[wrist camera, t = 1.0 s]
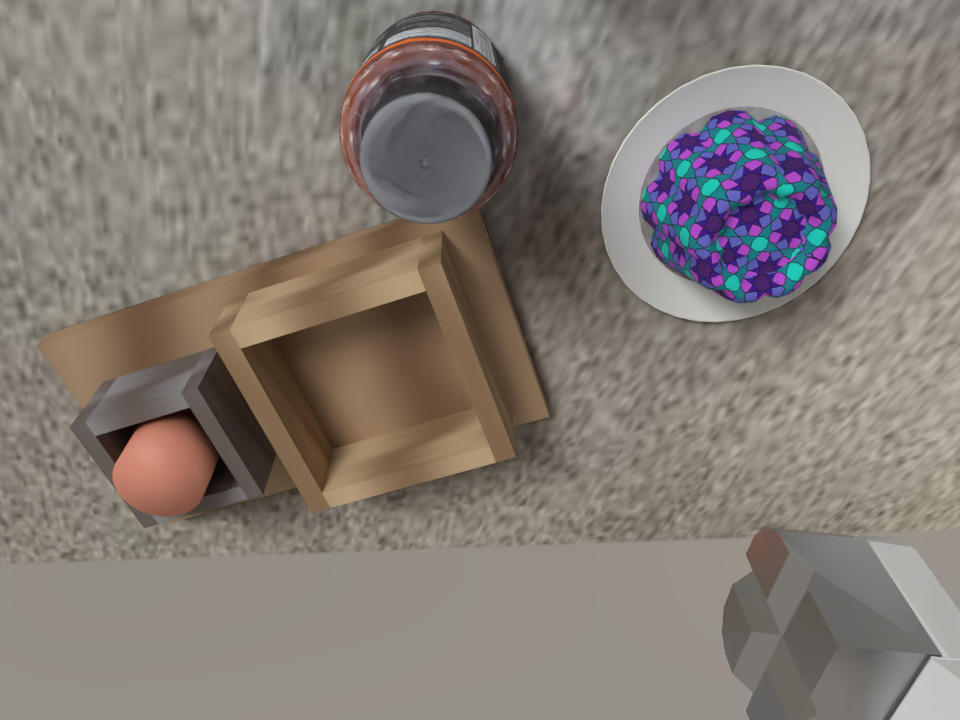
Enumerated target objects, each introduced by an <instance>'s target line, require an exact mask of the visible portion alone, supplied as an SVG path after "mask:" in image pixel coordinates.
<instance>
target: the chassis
mask: <svg viewBox="0 0 960 720" xmlns="http://www.w3.org/2000/svg"><path fill="white" fill-rule="evenodd" d="M38 347H39V349H40V350H41V351H42V353H43V354H44V355H45V357H46V358H47V360H48V361H49V362H50V364H51V365H52V367H53V368H54V369H55V371H56V372H57V374H58V375H59V376H60V378H61V379H62V381H63V382H64V383H65V385H66V386H67V388H68V389H69V390H70V392H71V393H72V394H73V396H74V397H75V399H76V400H77V401H78V403H79V404H80V406H81V407H82V408H83V410H82V411H81V413H80V414H79V415H78V417H77V418H76V420H75V421H74V422H73V424H72V425H71V426H70V428H71V430H72V431H73V432H74V434H75V435H76V436H77V438H78V439H79V440H80V442H81V443H82V445H83V446H84V447H85V449H86V450H87V451H88V453H89V454H90V455H91V457H92V458H93V459H94V461H95V462H96V463H97V465H98V466H99V468H100V469H101V470H102V472H103V473H104V474H105V476H106V477H107V478H108V480H109V481H110V482H111V484H112V485H113V486H114V483H113V477H112V474H113V468H114V466H115V463H116V462H117V460H118V458H119V457H120V455H121V453H122V452H123V450H124V448H125V447H126V445H127V444H128V442H129V440H130V439H131V437H132V435H133V434H134V432H135V430H136V429H137V427H138V425H139V424H140V423H141V422H144V421H147V420H150V419H154V418H157V417H160V416H164V415H167V414H170V413H174V412H177V411H180V410H183V409H187V408H191V410H192V412H193V413H194V415H195V416H196V418H197V419H198V421H199V423H200V424H201V426H202V427H203V429H204V430H205V432H206V434H207V435H208V437H209V438H210V440H211V442H212V443H213V445H214V446H215V448H216V449H217V451H218V453H219V454H220V458H219V460H218V462H217V465H216V467H215V469H214V472H213V474H212V477H211V479H210V481H209V484H208V486H207V488H206V491H205V493H204V495H203V498H202V499H201V501H200V503H199V504H198V505H197V506H196V507H195V508H194V509H193V510H191V511H189V512H187V513H185V514H182V515H178V516H172V517H162V516H155V515H151V514H147V513H144V512H142V511H140V510H138V509H136V508H134V507H132V506H131V505H130V504H128V503H127V502H126V501H125V500H124V499H123V498H122V499H123V500H124V501H125V503H126V504H127V505H128V507H129V508H130V509H131V511H132V512H133V514H134V515H135V516H136V518H137V519H138V520H139V522H140V523H141V524H142V526H143V527H144V528H146V527H150V526H153V525H157V524H161V523H165V524H169V523H172V522H176V521H179V520H183V519H187V518H190V517H194V516H197V515H201V514H204V513H208V512H212V511H215V510H219V509H222V508H226V507H229V506H233V505H237V504H240V503H244V502H247V501H251V500H254V499H258V498H262V497H265V496H269V495H272V494H276V493H279V492H283V491H287V490H290V489H294V488H297V489H298V490H299V492H300V494H301V495H302V497H303V499H304V501H305V502H306V504H307V506H308V507H309V509H310V511H311V513H314V512H318V511H321V510H325V509H329V508H332V507H336V506H340V505H343V504H347V503H351V502H354V501H358V500H362V499H365V498H369V497H373V496H376V495H380V494H383V493H387V492H391V491H394V490H398V489H402V488H405V487H409V486H413V485H416V484H420V483H424V482H427V481H431V480H435V479H438V478H442V477H445V476H449V475H453V474H456V473H460V472H464V471H467V470H471V469H475V468H478V467H482V466H486V465H489V464H493V463H497V462H500V461H504V460H507V459H511V458H515V457H516V449H515V438H514V427H515V426H519V425H522V424H526V423H529V422H533V421H536V420H540V419H544V418H547V417H549V411H548V405H547V402H546V399H545V396H544V393H543V390H542V387H541V384H540V382H539V379H538V376H537V373H536V370H535V367H534V364H533V361H532V359H531V356H530V353H529V350H528V347H527V344H526V341H525V339H524V336H523V333H522V330H521V327H520V324H519V321H518V318H517V316H516V313H515V310H514V307H513V304H512V301H511V298H510V296H509V293H508V290H507V287H506V284H505V281H504V278H503V275H502V273H501V270H500V267H499V264H498V261H497V258H496V255H495V253H494V250H493V247H492V244H491V241H490V238H489V235H488V233H487V230H486V227H485V224H484V221H483V218H482V215H481V212H480V210H479V208H478V209H477V210H475V211H473V212H471V213H469V214H468V215H466V216H463V217H460V218H457V219H454V220H450V221H446V222H443V223H437V224H419V223H413V222H409V221H406V220H404V219H401V218H400V219H396V220H393V221H390V222H387V223H384V224H381V225H378V226H375V227H372V228H369V229H366V230H363V231H360V232H357V233H354V234H351V235H348V236H345V237H342V238H338V239H335V240H332V241H329V242H326V243H323V244H320V245H317V246H314V247H311V248H308V249H305V250H302V251H299V252H296V253H293V254H290V255H287V256H284V257H281V258H277V259H274V260H271V261H268V262H265V263H262V264H259V265H256V266H253V267H250V268H247V269H244V270H241V271H238V272H235V273H232V274H229V275H226V276H223V277H220V278H216V279H213V280H210V281H207V282H204V283H201V284H198V285H195V286H192V287H189V288H186V289H183V290H180V291H177V292H174V293H171V294H168V295H165V296H162V297H159V298H155V299H152V300H149V301H146V302H143V303H140V304H137V305H134V306H131V307H128V308H125V309H122V310H119V311H116V312H113V313H110V314H107V315H104V316H101V317H98V318H94V319H91V320H88V321H85V322H82V323H79V324H76V325H73V326H70V327H67V328H64V329H61V330H58V331H55V332H52V333H49V334H48V335H47V336H46V337H45V338H44V339H43V340H42V341H41V342H40V343H39V344H38ZM114 488H115V486H114ZM115 489H116V488H115ZM116 491H117V490H116Z"/></svg>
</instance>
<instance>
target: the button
mask: <svg viewBox="0 0 960 720" xmlns="http://www.w3.org/2000/svg"><path fill="white" fill-rule="evenodd" d="M219 458H220V454H219V453H218V451H217V449H216V448H215V446H214V445H213V443H212V442H211V440H210V438H209V437H208V435H207V434H206V432H205V430H204V429H203V427H202V426H201V424H200V423H199V421H198V419H197V418H196V416H195V415H194V413H193V412H192V410H191V408H187V409H183V410H180V411H177V412H174V413H170V414H167V415H164V416H160V417H157V418H154V419H150V420H147V421H144V422H141V423H140V424H139V425H138V427H137V429H136V430H135V432H134V434H133V435H132V437H131V439H130V440H129V442H128V444H127V445H126V447H125V448H124V450H123V452H122V453H121V455H120V457H119V458H118V460H117V462H116V463H115V466H114V468H113V474H112V477H113V483H114V486H115V488H116V490H117V492H118V493H119V495H120V496H121V497H122V498H123V499H124V500H125V501H126V502H127V503H128V504H130V505H131V506H132V507H134V508H136V509H138V510H140V511H142V512H144V513H147V514H151V515H155V516H162V517H172V516H178V515H182V514H185V513H187V512H189V511H191V510H193V509H194V508H195V507H196V506H197V505H198V504H199V503H200V501H201V499H202V498H203V495H204V493H205V491H206V488H207V486H208V484H209V481H210V479H211V477H212V474H213V472H214V469H215V467H216V465H217V462H218V460H219Z"/></svg>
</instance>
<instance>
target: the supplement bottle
mask: <svg viewBox="0 0 960 720" xmlns="http://www.w3.org/2000/svg"><path fill="white" fill-rule="evenodd" d="M518 133H519V130H518V121H517V116H516V111H515V107H514V100H513V97H512V94H511V91H510V87H509V83H508V80H507V76H506V72H505V67H504V64H503V57H502V58H501V57H500V54H499V52H498V51H497V49H496V48H495V47H494V45H493V43H492V42H491V41H490V40H489V38H488V37H487V36H486V35H485V33H483V32H482V31H481V30H480V29H479V28H478V27H476V26H475V25H474V24H473V23H471V22H470V21H468V20H466V19H464V18H462V17H460V16H457V15H455V14H451V13H446V12H438V11H428V12H420V13H416V14H413V15H410V16H408V17H405V18H402V19H400V20H398V21H397V22H396V23H394V24H393V25H392V26H390V27H389V28H388V29H387V30H386V31H385V32H383V33H382V34H381V35H380V37H379V38H378V39H377V40H376V42H375V43H374V45H373V46H372V48H371V49H370V51H369V53H368V54H367V56H366V58H365V59H364V61H363V63H362V64H361V66H360V68H359V69H358V71H357V73H356V75H355V77H354V78H353V80H352V82H351V84H350V86H349V88H348V90H347V92H346V95H345V98H344V101H343V104H342V109H341V113H340V144H341V149H342V153H343V157H344V160H345V163H346V165H347V167H348V170H349V172H350V174H351V175H352V177H353V179H354V180H355V182H356V183H357V185H358V186H359V187H360V188H361V190H362V191H363V192H364V193H365V194H366V195H367V196H368V197H369V198H370V199H371V200H372V201H374V202H375V203H376V204H377V205H378V206H380V207H382V208H383V209H384V210H386V211H388V212H390V213H391V214H393V215H395V216H397V217H399V218H401V219H404V220H406V221H409V222H413V223H419V224H437V223H443V222H446V221H450V220H454V219H457V218H460V217H463V216H466V215H468V214H469V213H471V212H473V211H475V210H477V209H478V208H480V207H481V206H483V205H484V204H485V203H486V202H488V201H489V200H490V199H491V198H492V197H493V196H494V195H495V194H496V193H497V192H498V190H499V189H500V188H501V186H502V185H503V184H504V182H505V181H506V179H507V177H508V175H509V173H510V172H511V170H512V167H513V163H514V160H515V156H516V152H517V147H518Z"/></svg>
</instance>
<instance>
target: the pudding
mask: <svg viewBox="0 0 960 720" xmlns="http://www.w3.org/2000/svg"><path fill="white" fill-rule="evenodd" d="M743 106H749V107H762V108H766V109H770V110H774V111H778V112H780V113H782V114H784V115H786V116H788V117H790V118H792V119H793V120H794V121H795V122H797V123H798V124H799V125H800V126H802V127H803V128H804V129H805V130H806V131H807V133H808V134H809V135H810V136H811V138H812V139H813V140H814V142H815V144H816V146H817V148H818V150H819V152H820V155H821V159H822V163H823V167H824V171H823V169H822V166H821V164H820V162H819V159H818V157H817V155H815V154H813V153H811V152H809V151H808V148H807V146H806V143H805V141H804V138H803V135H802V133H801V131H800V130H799V129H798V128H797V127H796V126H795V125H794V124H793V122H792V121H791V120H788V119H785V118H782V117H779V116H773V117H770V118H767V119H764V120H761V121H756V120H755V119H754V118H753V117H751V116H750V115H749V114H748V113H747V112H746V111H726V112H723V113H721V114H718V115H716V116H713V117H712V118H711V119H710V120H709V122H708V123H707V124H706V126H705V127H704V128H703V130H702V131H701V132H700V133H693V134H682V135H680V136H679V137H678V138H676V139H675V140H674V141H672V142H671V143H670V144H668V145H667V147H666V149H665V150H664V152H663V153H662V155H661V157H660V158H659V177H658V178H657V179H656V180H655V181H654V182H652V183H651V184H650V185H649V186H648V187H646V188H645V191H644V195H643V198H642V201H641V208H642V216H643V219H644V220H646V221H647V222H648V223H649V224H650V225H651V226H652V227H653V228H654V232H653V236H652V241H651V246H652V248H653V250H654V252H655V254H656V257H658V258H659V259H660V260H662V261H663V262H664V263H666V264H667V265H668V266H670V267H672V268H673V269H675V270H677V271H678V272H680V273H682V274H683V275H685V276H687V277H688V278H690V279H691V280H693V281H691V280H688V279H685V278H683V277H681V276H678V275H676V274H675V273H673V272H672V271H670V270H669V269H667V268H665V267H664V266H663V265H662V264H661V263H660V262H659V261H658V260H657V259H656V258H655V256H654V255H653V254H652V252H651V251H650V249H649V248H648V246H647V244H646V241H645V239H644V237H643V234H642V231H641V226H640V221H639V200H640V194H641V188H642V185H643V182H644V179H645V176H646V174H647V171H648V170H649V168H650V166H651V164H652V162H653V160H654V159H655V157H656V156H657V154H658V153H659V152H660V151H661V149H662V148H663V147H664V145H665V144H666V143H667V142H668V141H669V140H670V139H671V138H672V137H673V136H675V135H676V134H677V133H678V132H679V131H680V130H682V129H683V128H684V127H686V126H687V125H689V124H690V123H692V122H693V121H695V120H697V119H699V118H701V117H703V116H706V115H708V114H710V113H713V112H716V111H720V110H723V109H727V108H733V107H743ZM870 179H871V176H870V155H869V151H868V147H867V143H866V138H865V134H864V132H863V130H862V128H861V126H860V124H859V122H858V120H857V118H856V116H855V114H854V113H853V111H852V110H851V109H850V107H849V106H848V105H847V104H846V102H845V101H844V100H843V99H842V97H841V96H839V95H838V94H837V93H836V92H834V91H833V90H832V89H831V88H830V87H828V86H827V85H826V84H825V83H823V82H821V81H819V80H817V79H815V78H813V77H811V76H809V75H807V74H805V73H803V72H800V71H796V70H793V69H789V68H785V67H781V66H771V65H756V64H755V65H746V66H737V67H729V68H726V69H722V70H719V71H716V72H712V73H709V74H705V75H703V76H701V77H699V78H697V79H695V80H693V81H691V82H688V83H686V84H684V85H682V86H680V87H679V88H677V89H676V90H674V91H673V92H672V93H670V94H669V95H667V96H666V97H664V98H663V99H662V100H660V101H659V102H658V103H656V104H655V105H654V106H653V107H652V108H651V109H650V110H649V111H648V112H647V113H646V114H645V115H644V116H643V117H642V118H641V119H640V120H639V121H638V122H637V124H636V125H635V126H634V128H633V129H632V130H631V132H630V133H629V134H628V136H627V137H626V138H625V140H624V141H623V143H622V145H621V147H620V148H619V150H618V152H617V154H616V156H615V158H614V160H613V162H612V164H611V167H610V170H609V173H608V176H607V179H606V182H605V185H604V191H603V198H602V204H601V224H602V233H603V238H604V242H605V247H606V251H607V253H608V255H609V258H610V260H611V262H612V264H613V267H614V269H615V270H616V272H617V273H618V274H619V276H620V277H621V279H622V280H623V282H624V283H625V284H626V286H627V287H629V288H630V289H631V290H632V291H633V292H634V293H635V294H636V295H637V296H638V297H639V298H640V299H642V300H643V301H645V302H646V303H648V304H649V305H651V306H653V307H654V308H656V309H657V310H660V311H662V312H665V313H667V314H670V315H672V316H675V317H678V318H683V319H688V320H692V321H701V322H725V321H734V320H741V319H745V318H748V317H752V316H756V315H760V314H762V313H765V312H767V311H770V310H772V309H775V308H777V307H780V306H782V305H783V304H785V303H787V302H788V301H790V300H792V299H794V298H795V297H797V296H799V295H800V294H802V293H803V292H804V291H806V290H807V289H808V288H809V287H811V286H812V285H813V284H815V283H816V282H817V281H818V280H820V279H821V277H822V276H823V275H824V274H825V273H826V272H827V271H828V270H829V269H830V268H831V267H832V266H833V265H834V264H835V263H836V262H837V260H838V259H839V257H840V256H841V255H842V253H843V252H844V251H845V249H846V248H847V246H848V245H849V244H850V242H851V240H852V238H853V236H854V234H855V232H856V230H857V228H858V226H859V224H860V222H861V219H862V216H863V212H864V209H865V206H866V203H867V199H868V193H869V186H870Z"/></svg>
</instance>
